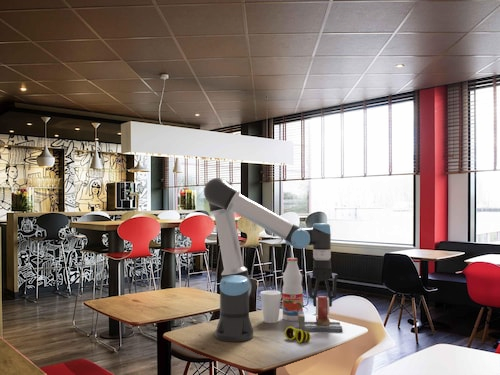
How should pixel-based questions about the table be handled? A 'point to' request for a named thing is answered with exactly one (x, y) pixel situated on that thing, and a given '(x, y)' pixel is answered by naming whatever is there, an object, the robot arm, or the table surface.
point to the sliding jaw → (322, 311)
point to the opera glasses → (297, 334)
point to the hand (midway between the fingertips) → (322, 314)
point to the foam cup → (270, 305)
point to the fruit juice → (292, 291)
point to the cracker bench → (313, 327)
